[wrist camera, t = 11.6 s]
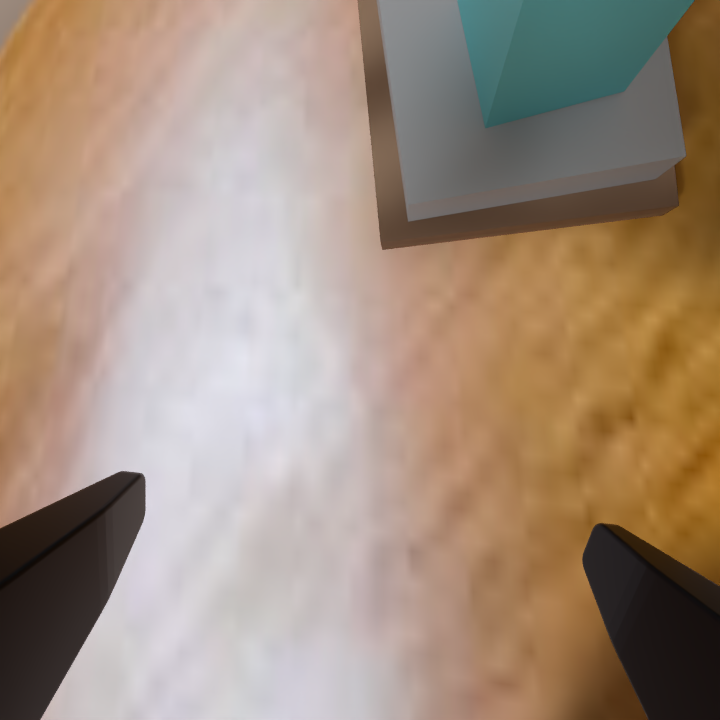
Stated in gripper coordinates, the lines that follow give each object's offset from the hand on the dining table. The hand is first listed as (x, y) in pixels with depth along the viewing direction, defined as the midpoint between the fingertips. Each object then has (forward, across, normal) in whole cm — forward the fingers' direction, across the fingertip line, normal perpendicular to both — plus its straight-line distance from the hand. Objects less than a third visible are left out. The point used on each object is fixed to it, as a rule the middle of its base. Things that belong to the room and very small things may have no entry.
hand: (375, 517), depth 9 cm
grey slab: (+14, -5, -12) cm, 19 cm away
